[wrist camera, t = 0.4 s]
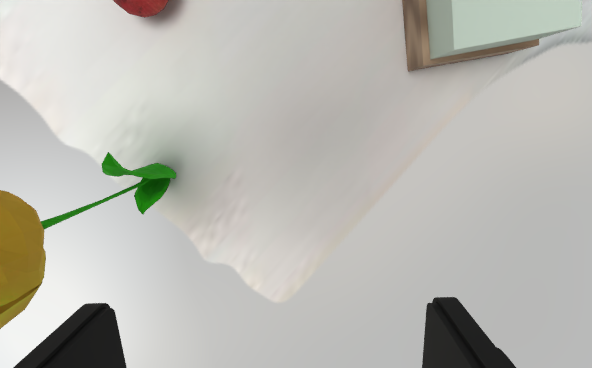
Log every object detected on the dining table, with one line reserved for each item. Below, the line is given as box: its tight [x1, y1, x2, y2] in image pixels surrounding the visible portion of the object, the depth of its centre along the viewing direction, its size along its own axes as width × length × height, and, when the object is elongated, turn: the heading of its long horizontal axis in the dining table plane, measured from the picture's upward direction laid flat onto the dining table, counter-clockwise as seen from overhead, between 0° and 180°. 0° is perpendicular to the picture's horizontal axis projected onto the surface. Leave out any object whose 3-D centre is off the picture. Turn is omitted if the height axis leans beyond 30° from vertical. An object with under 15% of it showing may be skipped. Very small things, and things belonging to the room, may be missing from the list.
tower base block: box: [402, 0, 539, 71], centre depth 31 cm, size 11×11×5 cm
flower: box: [0, 152, 176, 329], centre depth 24 cm, size 9×8×30 cm
